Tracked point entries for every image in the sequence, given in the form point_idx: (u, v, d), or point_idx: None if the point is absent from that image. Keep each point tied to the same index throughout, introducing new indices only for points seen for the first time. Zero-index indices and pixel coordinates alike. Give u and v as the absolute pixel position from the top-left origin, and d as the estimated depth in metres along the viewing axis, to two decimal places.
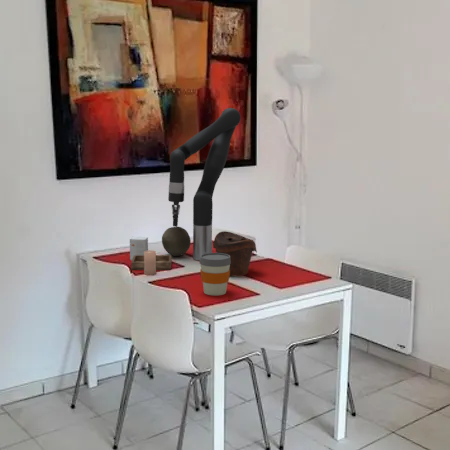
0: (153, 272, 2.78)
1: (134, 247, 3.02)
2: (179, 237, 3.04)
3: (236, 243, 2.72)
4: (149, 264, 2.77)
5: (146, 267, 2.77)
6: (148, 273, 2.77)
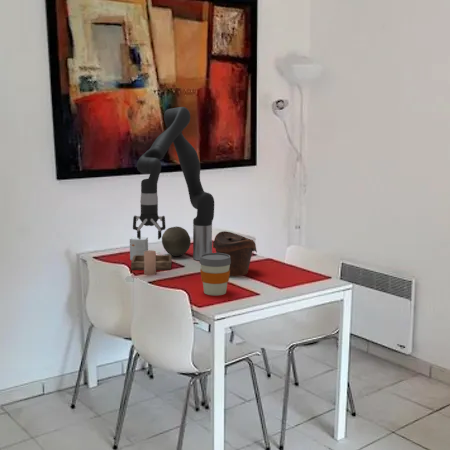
0: (153, 272, 2.78)
1: (134, 247, 3.02)
2: (179, 237, 3.04)
3: (236, 243, 2.72)
4: (149, 264, 2.77)
5: (146, 267, 2.77)
6: (148, 273, 2.77)
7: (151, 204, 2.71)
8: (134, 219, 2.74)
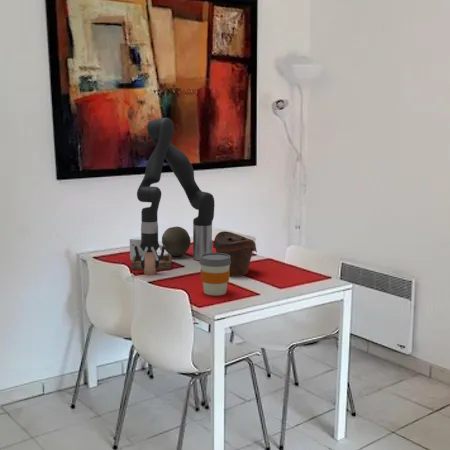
0: (153, 272, 2.78)
1: None
2: (179, 237, 3.04)
3: (236, 243, 2.72)
4: (149, 264, 2.77)
5: (146, 267, 2.77)
6: (148, 273, 2.77)
7: (151, 233, 2.73)
8: (135, 249, 2.76)
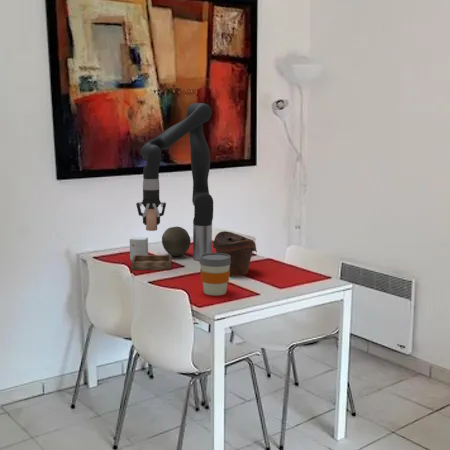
0: (154, 228, 2.88)
1: (134, 247, 3.02)
2: (179, 237, 3.04)
3: (236, 243, 2.72)
4: (151, 220, 2.86)
5: (147, 223, 2.87)
6: (150, 229, 2.87)
7: (153, 189, 2.83)
8: (137, 206, 2.86)
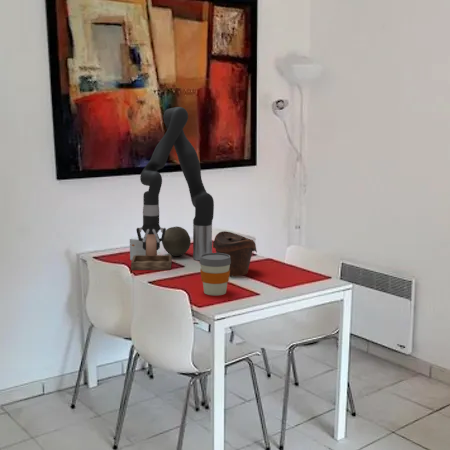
0: (154, 253, 2.90)
1: (134, 247, 3.02)
2: (179, 237, 3.04)
3: (236, 243, 2.72)
4: (151, 245, 2.88)
5: (147, 248, 2.89)
6: (149, 254, 2.89)
7: (153, 215, 2.85)
8: (137, 231, 2.88)
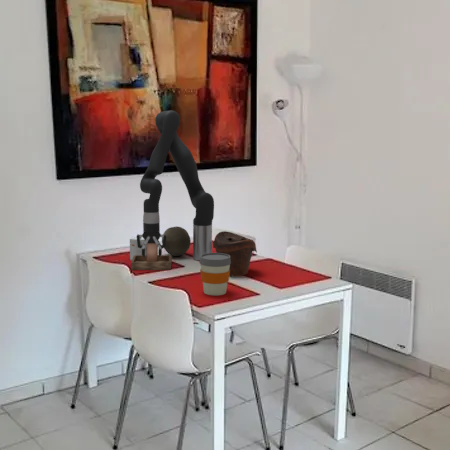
0: None
1: (134, 247, 3.02)
2: (179, 237, 3.04)
3: (236, 243, 2.72)
4: (151, 254, 2.89)
5: (148, 258, 2.90)
6: None
7: (153, 223, 2.85)
8: (137, 238, 2.89)
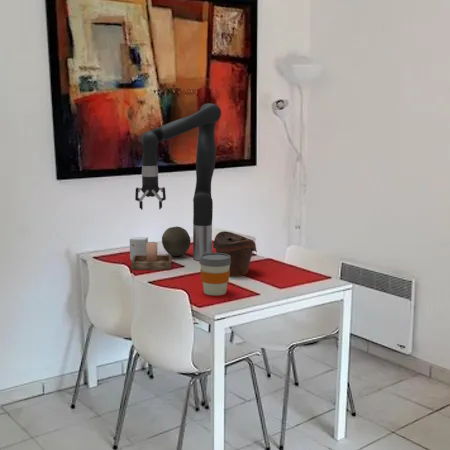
0: None
1: (134, 247, 3.02)
2: (179, 237, 3.04)
3: (236, 243, 2.72)
4: (151, 254, 2.89)
5: (148, 258, 2.90)
6: None
7: (152, 176, 2.89)
8: (136, 191, 2.92)
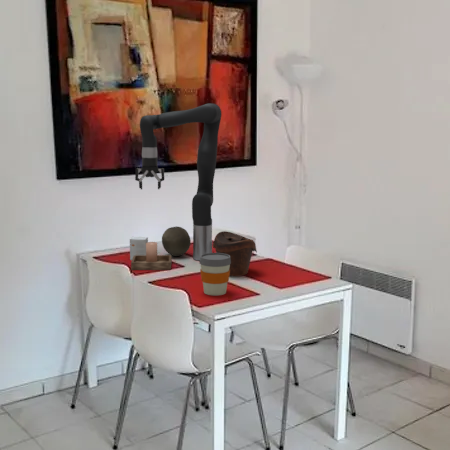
0: None
1: (134, 247, 3.02)
2: (179, 237, 3.04)
3: (236, 243, 2.72)
4: (151, 254, 2.89)
5: (148, 258, 2.90)
6: None
7: (151, 157, 3.04)
8: (136, 171, 3.07)
